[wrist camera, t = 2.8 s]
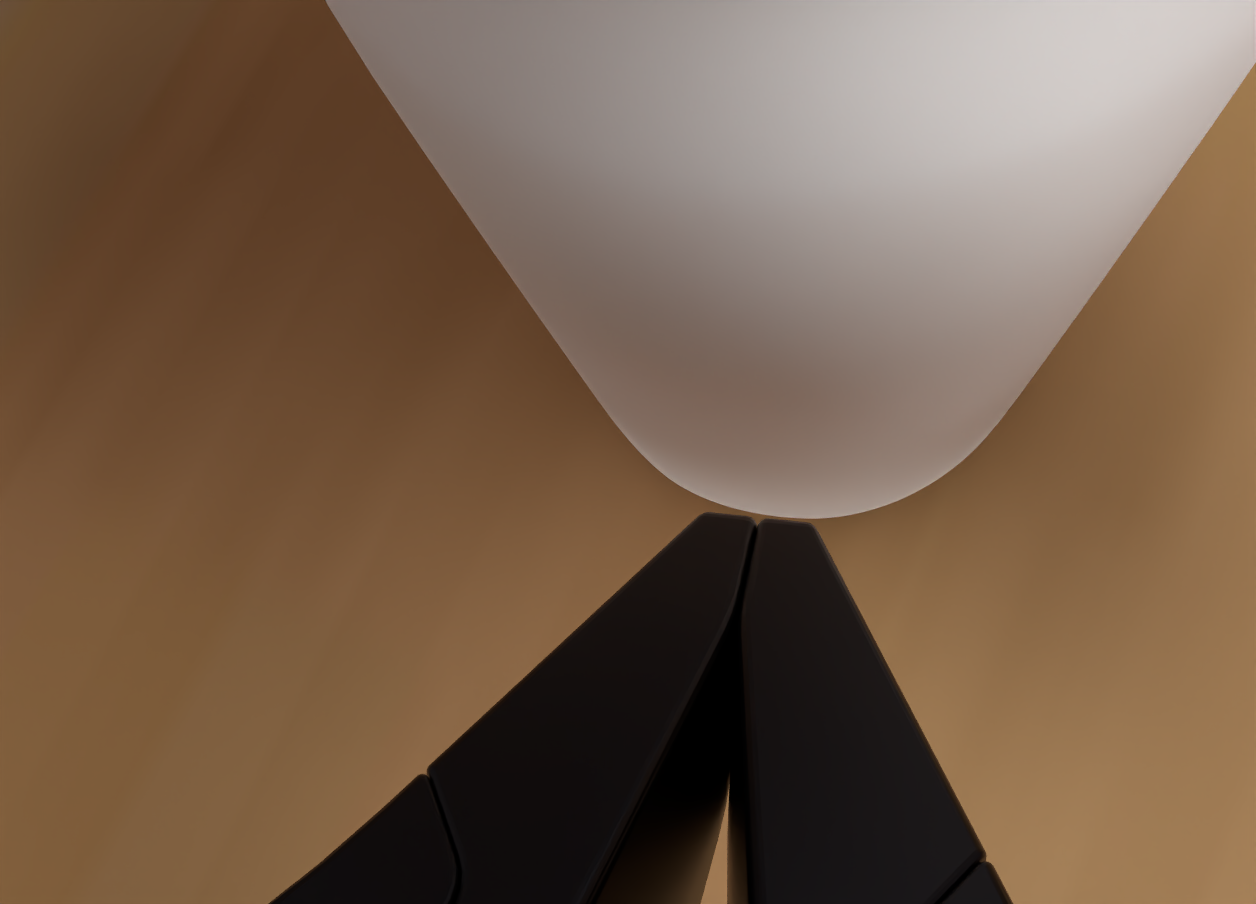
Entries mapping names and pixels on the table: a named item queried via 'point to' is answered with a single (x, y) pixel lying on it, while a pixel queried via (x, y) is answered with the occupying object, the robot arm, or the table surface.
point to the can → (806, 204)
